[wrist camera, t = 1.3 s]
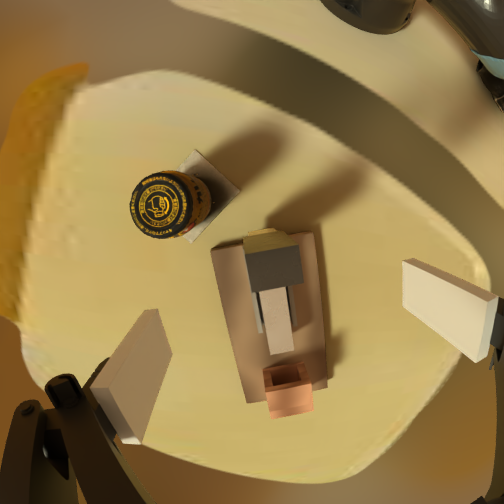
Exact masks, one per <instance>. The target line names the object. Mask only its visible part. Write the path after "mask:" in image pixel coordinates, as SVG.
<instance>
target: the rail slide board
mask: <svg viewBox="0 0 504 504" xmlns="http://www.w3.org/2000/svg"><path fill="white" fill-rule="evenodd" d="M289 236H290V237H291V238H292V239H293V240H294V241H295V242H297V243H298V244H299V249H300V256H301V264H302V271H303V279H304V283H302V284H297V285H292V286H286V287H285V288H286V295H287V302H288V309H289V316H290V323H291V330H292V337H293V344H294V351H289V352H284V353H279V354H273V355H270V350H269V345H268V339H267V334H266V328H265V323H264V317H263V312H262V306H261V301H260V295H259V292H255V293H252V291H251V286H250V281H249V275H248V270H247V265H246V259H245V254H244V243H240V244H235V245H229V246H224V247H218V248H213V249H211V251H210V252H211V257H212V262H213V266H214V271H215V276H216V280H217V285H218V289H219V293H220V298H221V302H222V307H223V311H224V315H225V319H226V324H227V328H228V332H229V336H230V340H231V344H232V348H233V352H234V356H235V360H236V364H237V368H238V372H239V375H240V379H241V383H242V387H243V391H244V394H245V398H246V402H247V403H254V402H261V401H267V402H268V407H269V411H270V416H271V419H275V418H281V417H286V416H291V415H296V414H301V413H305V412H310V411H314V409H313V396H312V391H316V390H320V389H324V388H328V387H327V367H326V351H325V337H324V324H323V313H322V302H321V292H320V283H319V274H318V265H317V257H316V249H315V241H314V234H313V232H311V231H306V232H301V233H295V234H290V235H289Z"/></svg>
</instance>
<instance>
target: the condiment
mask: <svg viewBox="0 0 504 504" xmlns="http://www.w3.org/2000/svg"><path fill="white" fill-rule="evenodd" d="M197 173H198V175H195V174H197ZM192 174H194V176H192ZM239 192H240V190H238V189H237V188H236V187H235V186H234V185H233V184H232V183H231V182H230V181H229V180H228V179H227V178H225V177H224V176H223V175H222V174H221V173H220V172H219V171H218V170H217V169H216V168H215V167H213V166H212V165H211V164H210V163H209V162H208V161H207V160H206V159H205V158H204V157H203V156H201V155H200V154H199V153H198V152H197V151H196V150H194V151H193V152H192V153H191V154H190V155H189V156H188V158H187V159H186V160H185V161H184V162H183V163H182V164H181V165H180V166H179V167H178V168H177V170H176V171H162V172H158V173H154V174H152V175H149V176H148V177H145V178H144V179H143V180H141V182H140V183H139V184H138V185H137V186H136V188H135V189H134V191H133V193H132V198H131V201H130V213H131V216H132V219H133V221H134V223H135V225H136V226H137V227H138V228H139V229H140V230H141V231H142V232H143V233H144V234H146V235H148V236H151V237H153V238H158V239H165V238H175V237H179V236H183V237H184V238H185V239H186V240H188V241H189V242H190V243H192V242H193V241H194V240H195V239H196V238H197V237H198V236H199V235H200V233H201V232H202V231H203V230H204V229H205V228H206V227H207V226H208V225H209V224H210V223H211V221H212V220H213V219H214V218H215V217H216V216H217V215H218V214H219V213H220V212H221V211H222V210H223V209H224V208H225V206H226V205H227V204H228V203H229V202H230V201H231V200H232V199H233V198H234V197H235V196H236V195H237V194H238V193H239ZM213 202H214V203H213Z"/></svg>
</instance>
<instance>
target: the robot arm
mask: <svg viewBox="0 0 504 504" xmlns="http://www.w3.org/2000/svg"><path fill="white" fill-rule="evenodd" d="M320 1H321V2H322V3H323V4H324V6H325V7H326V8H327V9H328V10H329V11H331V12H332V13H333V14H334V15H336V16H337V17H338V18H340V19H341V20H343V21H344V22H346V23H348V24H350V25H352V26H354V27H356V28H358V29H361V30H364V31H367V32H370V33H375V34H392V33H395V32H397V31H398V30H400V29H401V28H402V27H403V26H404V25H405V24H406V23H407V22H408V20H409V18H410V14H411V11H412V9H413V6H414V3H415V0H320ZM426 1H427V2H429V4H430V5H432V6H433V7H434V8H435V9H436V10H437V11H438V12H439V13H440V14H441V15H442V16H443V17H444V18H445V19H446V21H447V22H448V23H449V24H450V25H451V26H452V27H453V28H454V29H455V30H456V31H457V33H458V34H459V35H460V36H461V37H462V39H463V40H464V41H465V42H466V43H467V45H468V46H469V48H470V50H471V51H472V52H473V53H474V54H475V55H476V56H477V57H478V58H479V59H480V60H481V62H482V63H483V64H484V66H485V67H486V68H487V69H488V71H489V72H491V73H492V74H493V75H494V76H496V77H498V78H501V79H504V0H426ZM402 263H403V307H404V308H405V309H406V310H408V311H409V312H411V313H412V314H413V315H415V316H416V317H417V318H419V319H420V320H421V321H422V322H424V323H425V324H426V325H428V326H429V327H430V328H432V329H433V330H434V331H436V332H437V333H438V334H439V335H441V336H442V337H443V338H445V339H446V340H447V341H448V342H450V343H451V344H452V345H454V346H455V347H456V348H457V349H459V350H460V351H461V352H462V353H464V354H465V355H466V356H467V357H469V358H470V359H471V360H472V361H474V362H475V363H476V362H478V361H480V360H482V359H483V358H485V357H486V356H487V353H488V350H489V345H490V344H492V345H493V346H494V347H495V349H494V353H493V357H492V360H491V363H490V367H489V370H491V368H492V366H493V365H494V370H495V380H496V395H497V396H496V397H497V434H496V450H495V460H494V469H493V476H492V482H491V486H490V488H489V490H488V492H487V494H486V496H485V498H483V497H482V496H481V497H479V498H478V499H477V500H475V501H474V502H472V503H471V504H504V299H502V298H500V297H499V296H497V295H495V294H492V293H491V292H489V291H486V290H484V289H482V288H480V287H478V286H476V285H474V284H471V283H469V282H467V281H465V280H463V279H460V278H458V277H456V276H454V275H452V274H449V273H447V272H445V271H442V270H440V269H438V268H436V267H433V266H431V265H429V264H426V263H424V262H421V261H419V260H417V259H414V258H412V259H408V260H403V261H402ZM171 357H172V351H171V348H170V345H169V343H168V340H167V337H166V333H165V330H164V327H163V324H162V321H161V318H160V315H159V311H158V309H151V310H144V312H143V313H142V314H141V316H140V317H139V318H138V320H137V321H136V322H135V324H134V325H133V327H132V328H131V329H130V331H129V332H128V333H127V335H126V336H125V338H124V339H123V340H122V342H121V343H120V344H119V346H118V347H117V349H116V350H115V352H114V353H113V354H112V356H111V357H109V358H106V359H105V360H104V361H103V362H101V363H100V364H99V365H98V367H97V368H96V369H95V372H93V374H92V375H91V377H90V378H89V379H88V381H87V382H86V383H85V385H84V386H83V388H81V386H80V385H79V383H78V381H77V379H76V377H75V376H74V375H73V374H61V375H58V376H56V377H54V378H52V379H51V380H50V381H48V382H47V384H46V385H45V389H44V390H45V392H46V394H47V395H48V397H49V399H50V400H51V402H52V404H53V405H54V407H55V408H54V409H46V410H44V409H43V407H42V406H41V404H40V403H39V401H37V400H28V401H24V402H23V403H21V404H20V405H19V406H18V407H17V408H16V410H15V412H14V415H13V419H12V422H11V426H10V429H9V433H8V437H7V441H6V445H5V449H4V454H3V459H2V465H1V470H0V504H79V503H78V495H77V485H76V478H77V480H78V483H79V485H80V488H81V490H82V492H83V495H84V497H85V500H86V501H87V504H156V502H155V501H154V500H153V499H152V497H151V496H150V495H149V493H148V492H147V490H146V489H145V488H144V486H143V485H142V484H141V482H140V481H139V479H138V478H137V476H136V475H135V473H134V472H133V470H132V469H131V467H130V466H129V464H128V463H127V461H126V460H125V458H124V456H123V455H122V453H121V451H120V450H119V448H118V447H117V445H116V443H115V442H114V441H113V440H114V438H115V435H116V433H117V435H118V436H119V438H120V439H121V441H122V442H123V443H126V444H141V443H142V440H143V437H144V434H145V431H146V428H147V425H148V422H149V419H150V416H151V413H152V410H153V407H154V405H155V402H156V399H157V396H158V393H159V390H160V388H161V385H162V382H163V379H164V376H165V374H166V371H167V368H168V365H169V363H170V360H171Z"/></svg>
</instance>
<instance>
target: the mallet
mask: <svg viewBox="0 0 504 504" xmlns="http://www.w3.org/2000/svg"><path fill="white" fill-rule="evenodd" d="M248 235H249V236H246V237H243V243H244V254H245V259H246V265H247V270H248V275H249V281H250V286H251V291H252V293H255V292H259V295H260V301H261V306H262V312H263V317H264V323H265V328H266V334H267V339H268V345H269V350H270V355H273V354H279V353H284V352H289V351H294V344H293V337H292V330H291V323H290V316H289V309H288V302H287V295H286V288H285V287H286V286H292V285H297V284H302V283H304V279H303V271H302V264H301V256H300V249H299V244H298V243H297V242H295V241H294V240H293V239H292V238H291V237H290V236H289V235H288V234H286V233H285V232H284V231H283V230H280V231H276V230H275V229H274V228H268V229H263V230H257V231H252V232H248Z"/></svg>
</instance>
